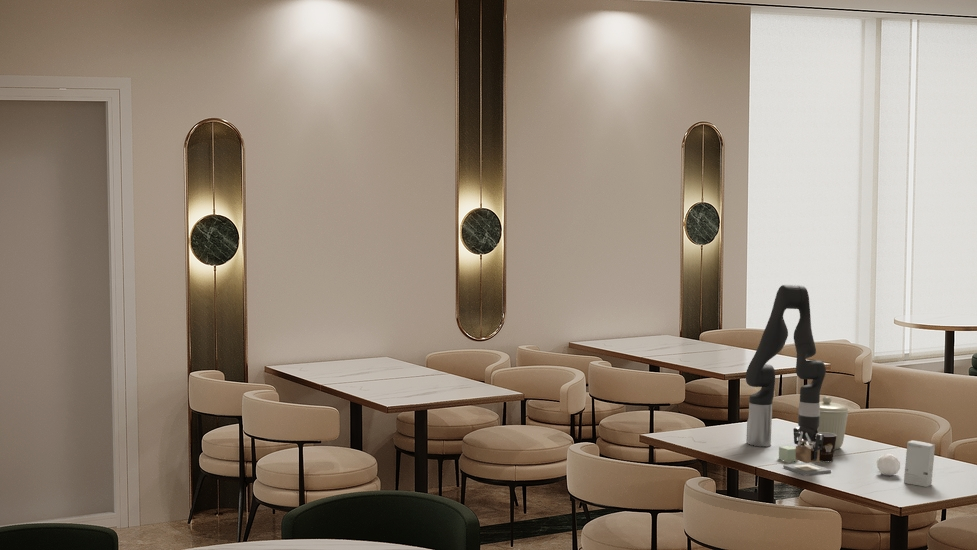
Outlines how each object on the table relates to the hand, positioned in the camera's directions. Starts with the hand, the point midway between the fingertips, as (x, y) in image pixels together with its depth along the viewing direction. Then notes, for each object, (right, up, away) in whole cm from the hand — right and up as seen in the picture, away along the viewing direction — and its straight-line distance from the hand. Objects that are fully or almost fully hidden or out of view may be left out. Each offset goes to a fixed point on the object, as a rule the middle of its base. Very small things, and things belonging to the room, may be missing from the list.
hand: (807, 458), depth 376 cm
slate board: (0, -4, 0) cm, 4 cm away
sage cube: (-3, -4, +16) cm, 16 cm away
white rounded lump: (+28, -5, -2) cm, 29 cm away
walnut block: (0, -1, 0) cm, 1 cm away
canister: (+20, -3, +40) cm, 44 cm away
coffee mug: (+11, -4, +18) cm, 21 cm away
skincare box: (+34, -6, -16) cm, 39 cm away
